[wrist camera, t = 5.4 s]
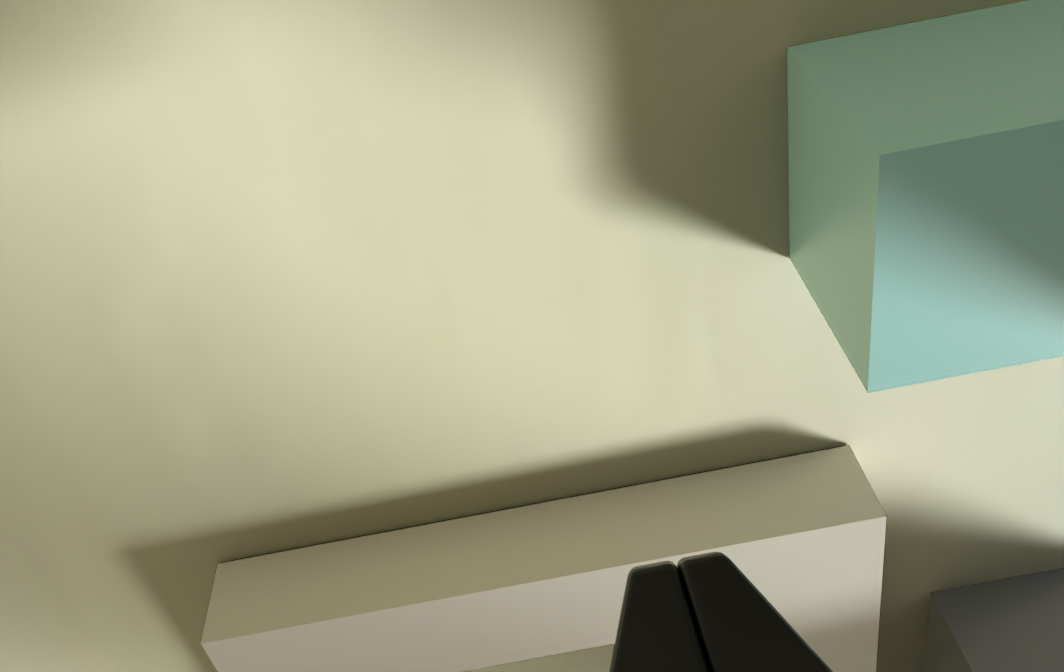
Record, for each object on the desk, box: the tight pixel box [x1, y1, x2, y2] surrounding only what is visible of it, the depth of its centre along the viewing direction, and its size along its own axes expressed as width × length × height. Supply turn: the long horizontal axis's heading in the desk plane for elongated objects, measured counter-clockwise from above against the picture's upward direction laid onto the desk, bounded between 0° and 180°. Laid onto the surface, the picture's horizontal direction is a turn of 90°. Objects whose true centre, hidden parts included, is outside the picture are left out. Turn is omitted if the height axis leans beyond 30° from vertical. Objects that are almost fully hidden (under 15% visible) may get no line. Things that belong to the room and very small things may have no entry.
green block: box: [787, 0, 1064, 393], centre depth 13 cm, size 6×4×4 cm, turn 100°
